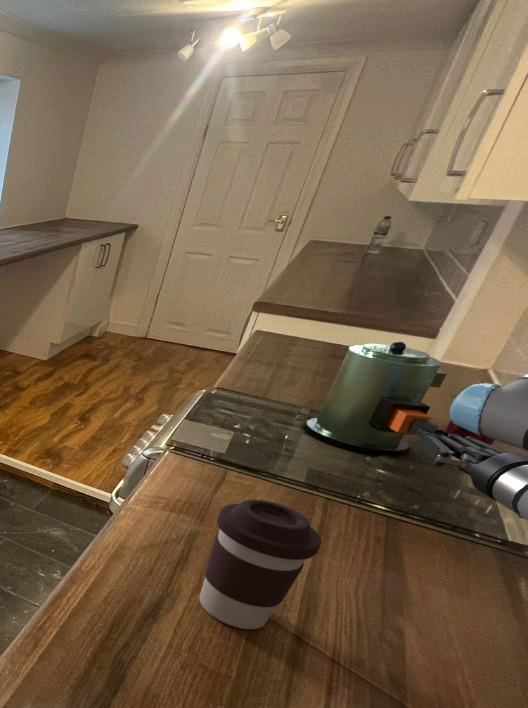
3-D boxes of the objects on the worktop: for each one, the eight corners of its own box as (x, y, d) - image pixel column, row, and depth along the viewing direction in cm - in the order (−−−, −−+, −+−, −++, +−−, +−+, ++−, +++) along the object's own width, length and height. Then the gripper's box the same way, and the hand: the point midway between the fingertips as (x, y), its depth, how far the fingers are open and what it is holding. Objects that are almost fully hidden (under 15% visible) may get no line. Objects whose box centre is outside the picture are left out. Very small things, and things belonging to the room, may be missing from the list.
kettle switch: (383, 424, 115) (392, 406, 113) (407, 426, 114) (416, 409, 113) (397, 432, 112) (406, 414, 110) (421, 435, 111) (431, 416, 109)
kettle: (282, 415, 137) (320, 324, 128) (369, 423, 134) (415, 331, 124) (334, 454, 118) (384, 351, 109) (437, 466, 115) (497, 360, 105)
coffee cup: (236, 646, 69) (285, 543, 63) (169, 592, 78) (205, 497, 71) (297, 630, 72) (349, 530, 65) (225, 581, 80) (265, 487, 74)
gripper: (457, 499, 92) (366, 438, 113) (558, 511, 90) (446, 447, 110) (483, 457, 89) (384, 402, 110) (588, 468, 86) (466, 410, 107)
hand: (415, 425), depth 110 cm, fingers closed
